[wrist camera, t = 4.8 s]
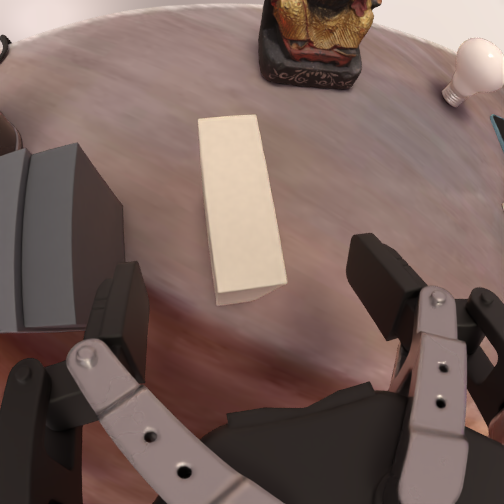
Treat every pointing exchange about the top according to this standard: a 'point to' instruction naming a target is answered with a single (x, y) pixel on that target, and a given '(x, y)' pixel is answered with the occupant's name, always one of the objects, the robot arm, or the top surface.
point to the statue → (314, 41)
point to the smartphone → (498, 128)
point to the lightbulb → (475, 71)
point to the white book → (239, 210)
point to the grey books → (54, 239)
